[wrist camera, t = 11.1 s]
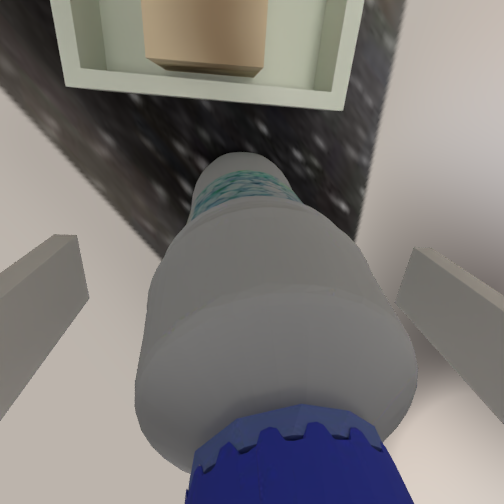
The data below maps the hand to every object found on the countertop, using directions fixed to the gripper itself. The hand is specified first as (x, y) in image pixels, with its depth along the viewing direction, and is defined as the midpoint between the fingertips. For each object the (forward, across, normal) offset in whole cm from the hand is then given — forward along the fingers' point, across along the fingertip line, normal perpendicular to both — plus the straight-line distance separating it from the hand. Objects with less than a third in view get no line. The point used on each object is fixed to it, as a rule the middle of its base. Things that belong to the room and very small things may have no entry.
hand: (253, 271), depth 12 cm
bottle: (+11, 0, 0) cm, 11 cm away
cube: (+10, -2, +10) cm, 14 cm away
